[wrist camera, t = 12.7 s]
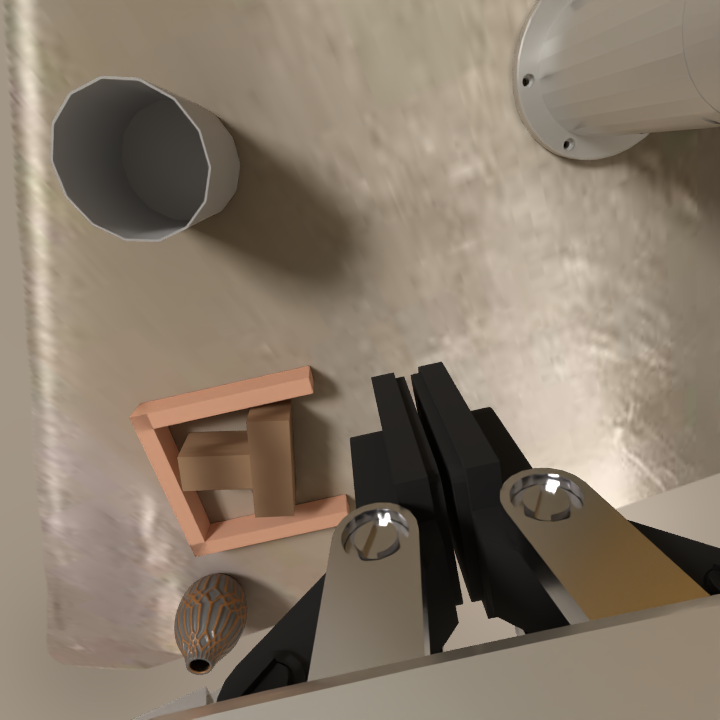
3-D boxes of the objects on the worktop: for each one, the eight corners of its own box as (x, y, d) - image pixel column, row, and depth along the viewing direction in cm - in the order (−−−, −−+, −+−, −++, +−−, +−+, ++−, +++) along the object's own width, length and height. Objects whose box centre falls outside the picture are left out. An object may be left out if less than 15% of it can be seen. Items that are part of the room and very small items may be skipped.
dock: (309, 365, 42) (308, 377, 40) (348, 505, 48) (350, 523, 46) (140, 403, 42) (129, 417, 40) (201, 538, 49) (195, 556, 46)
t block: (291, 398, 43) (288, 420, 39) (296, 488, 47) (294, 515, 43) (184, 401, 42) (171, 423, 39) (198, 492, 46) (187, 520, 43)
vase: (172, 579, 50) (144, 659, 42) (228, 553, 50) (209, 630, 42) (210, 618, 53) (189, 700, 45) (263, 594, 52) (252, 674, 44)
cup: (252, 210, 37) (228, 227, 27) (148, 231, 37) (89, 255, 27) (219, 87, 33) (180, 59, 24) (105, 110, 33) (22, 92, 24)
